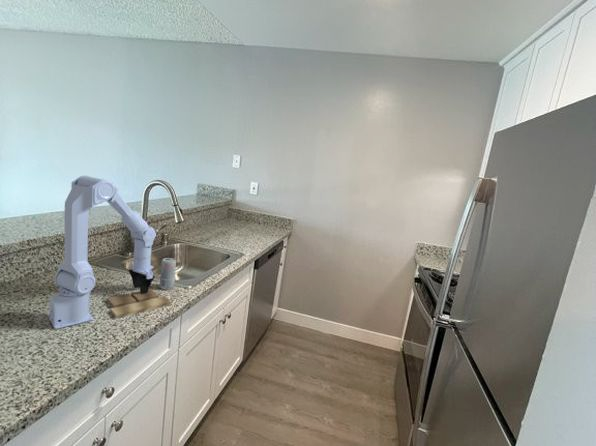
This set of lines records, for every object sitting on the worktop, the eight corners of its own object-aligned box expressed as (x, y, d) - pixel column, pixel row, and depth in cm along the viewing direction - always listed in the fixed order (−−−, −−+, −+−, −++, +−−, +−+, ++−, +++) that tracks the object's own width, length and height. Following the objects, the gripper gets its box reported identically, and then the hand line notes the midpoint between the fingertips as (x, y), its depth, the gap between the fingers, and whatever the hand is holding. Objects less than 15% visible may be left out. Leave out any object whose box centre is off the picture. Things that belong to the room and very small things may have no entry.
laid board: (116, 318, 95) (116, 315, 95) (109, 310, 99) (109, 307, 99) (170, 304, 109) (171, 301, 109) (163, 298, 113) (163, 295, 112)
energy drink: (170, 284, 126) (172, 257, 124) (176, 288, 122) (178, 260, 120) (157, 286, 121) (159, 258, 119) (163, 291, 118) (165, 262, 116)
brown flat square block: (113, 308, 100) (114, 305, 100) (106, 301, 105) (106, 297, 104) (136, 303, 106) (136, 300, 105) (128, 296, 110) (128, 293, 110)
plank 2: (138, 302, 106) (139, 299, 106) (131, 295, 111) (131, 292, 111) (158, 298, 112) (158, 295, 112) (150, 291, 116) (150, 289, 116)
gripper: (162, 260, 110) (159, 295, 112) (145, 249, 119) (143, 281, 121) (142, 263, 105) (140, 299, 107) (126, 251, 114) (124, 285, 116)
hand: (140, 290), depth 114 cm, fingers open, 6 cm apart
